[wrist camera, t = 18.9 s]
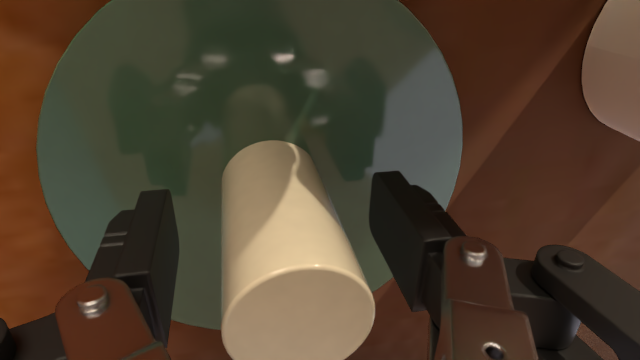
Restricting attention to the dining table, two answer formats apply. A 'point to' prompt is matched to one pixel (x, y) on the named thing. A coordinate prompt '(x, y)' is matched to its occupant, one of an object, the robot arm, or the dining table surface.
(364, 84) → the lid
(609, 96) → the cylindrical container
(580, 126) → the dining table surface
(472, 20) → the dining table surface
